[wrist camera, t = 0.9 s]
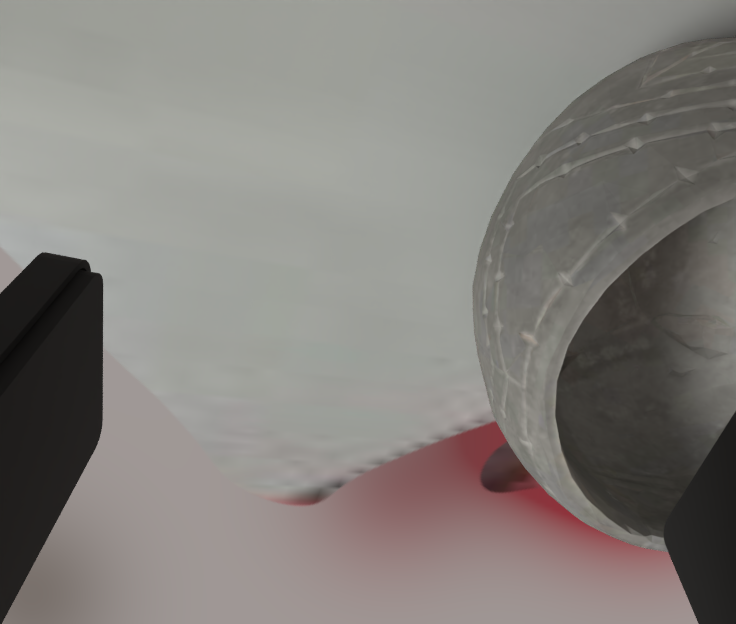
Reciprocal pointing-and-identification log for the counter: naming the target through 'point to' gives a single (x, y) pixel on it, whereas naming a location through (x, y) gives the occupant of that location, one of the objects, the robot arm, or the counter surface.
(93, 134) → the counter surface
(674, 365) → the bowl
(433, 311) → the counter surface
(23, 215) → the counter surface
